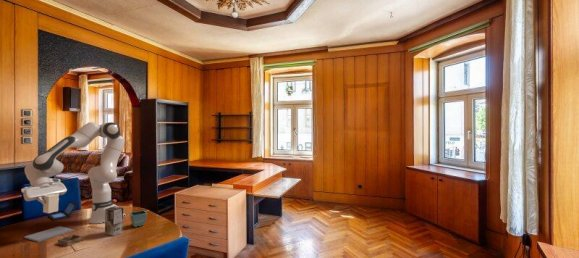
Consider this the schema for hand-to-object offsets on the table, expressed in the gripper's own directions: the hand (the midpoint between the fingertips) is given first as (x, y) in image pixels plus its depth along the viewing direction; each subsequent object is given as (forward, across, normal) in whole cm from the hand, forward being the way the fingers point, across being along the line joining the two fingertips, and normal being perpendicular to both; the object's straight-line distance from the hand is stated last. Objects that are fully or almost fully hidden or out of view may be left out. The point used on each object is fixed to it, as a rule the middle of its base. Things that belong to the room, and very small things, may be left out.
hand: (51, 202), depth 158 cm
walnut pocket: (+29, 0, +2) cm, 29 cm away
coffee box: (+36, +19, -5) cm, 41 cm away
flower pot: (+38, +34, -8) cm, 52 cm away
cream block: (+4, 0, +4) cm, 6 cm away
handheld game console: (-9, +26, +40) cm, 49 cm away
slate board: (+12, +2, +19) cm, 22 cm away
